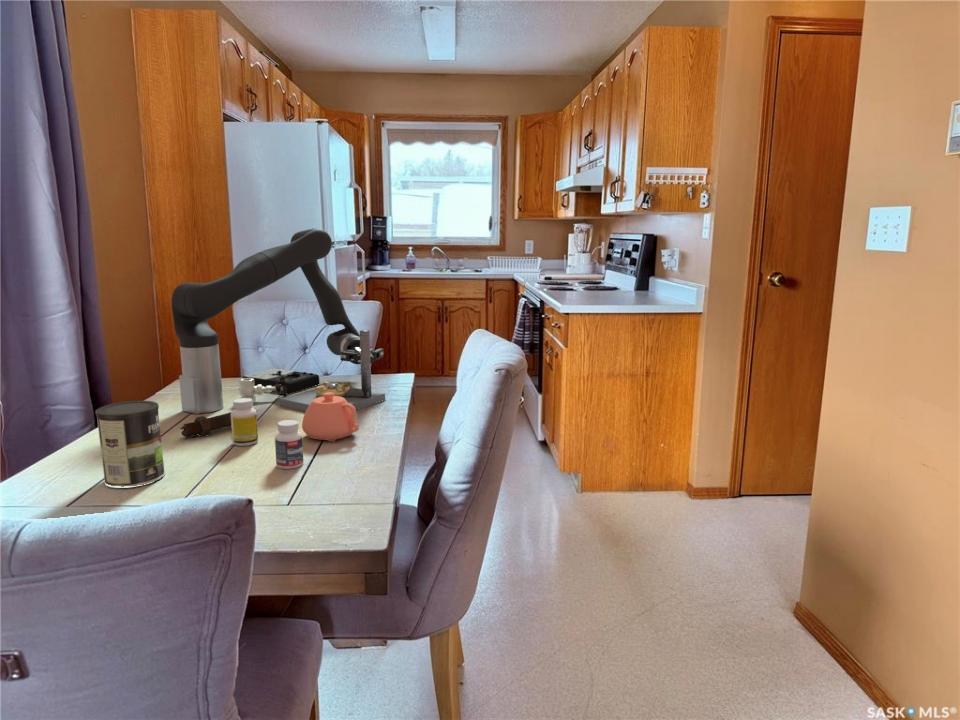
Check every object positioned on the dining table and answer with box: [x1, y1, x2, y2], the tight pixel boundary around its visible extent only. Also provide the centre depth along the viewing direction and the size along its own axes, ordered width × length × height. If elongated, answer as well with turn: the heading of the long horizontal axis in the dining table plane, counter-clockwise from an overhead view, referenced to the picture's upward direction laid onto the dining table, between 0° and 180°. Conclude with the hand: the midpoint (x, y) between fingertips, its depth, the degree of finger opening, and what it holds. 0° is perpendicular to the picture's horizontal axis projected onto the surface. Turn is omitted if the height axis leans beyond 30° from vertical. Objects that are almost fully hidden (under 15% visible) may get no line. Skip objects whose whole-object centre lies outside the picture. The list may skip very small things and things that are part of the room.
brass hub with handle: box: [315, 329, 372, 398], centre depth 172 cm, size 15×9×18 cm, turn 83°
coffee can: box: [95, 400, 166, 487], centre depth 119 cm, size 10×10×14 cm
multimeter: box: [241, 368, 320, 395], centre depth 194 cm, size 13×19×5 cm
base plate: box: [279, 386, 386, 412], centre depth 174 cm, size 20×20×2 cm
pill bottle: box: [274, 419, 304, 470], centre depth 127 cm, size 5×5×9 cm
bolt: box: [179, 407, 235, 438], centre depth 149 cm, size 6×5×15 cm
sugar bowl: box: [301, 392, 360, 442], centre depth 145 cm, size 12×14×10 cm
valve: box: [239, 376, 288, 404], centre depth 176 cm, size 7×7×12 cm
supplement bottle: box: [230, 397, 259, 447], centre depth 141 cm, size 5×5×10 cm
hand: (369, 360), depth 173 cm, fingers closed
